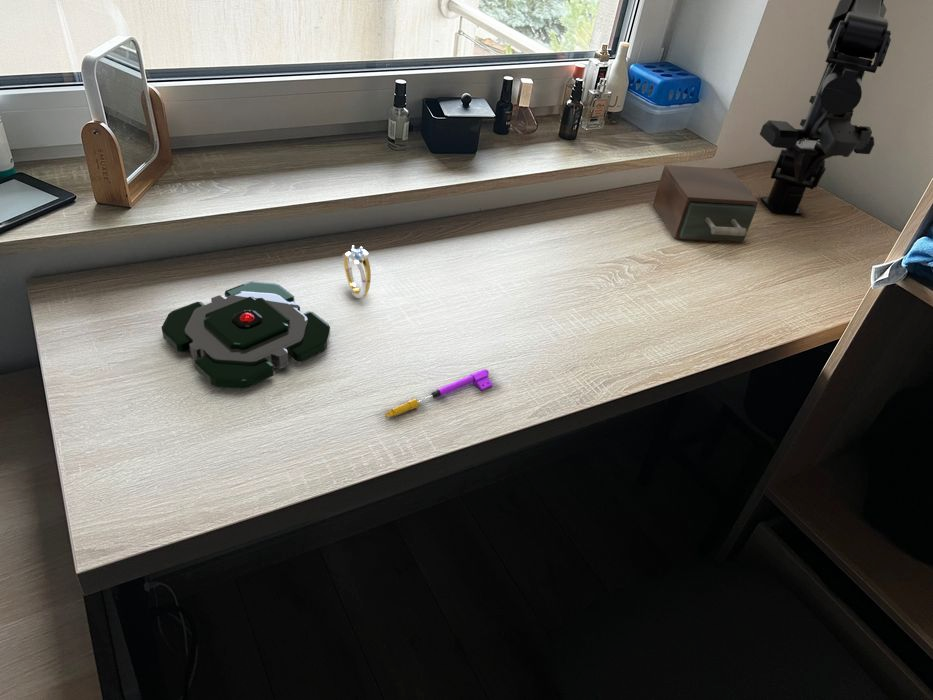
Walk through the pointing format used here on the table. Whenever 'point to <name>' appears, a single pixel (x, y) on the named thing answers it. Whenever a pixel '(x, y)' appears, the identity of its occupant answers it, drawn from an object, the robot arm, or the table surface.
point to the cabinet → (696, 193)
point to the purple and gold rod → (447, 391)
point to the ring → (358, 258)
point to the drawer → (717, 221)
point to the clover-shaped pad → (246, 334)
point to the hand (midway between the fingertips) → (798, 182)
